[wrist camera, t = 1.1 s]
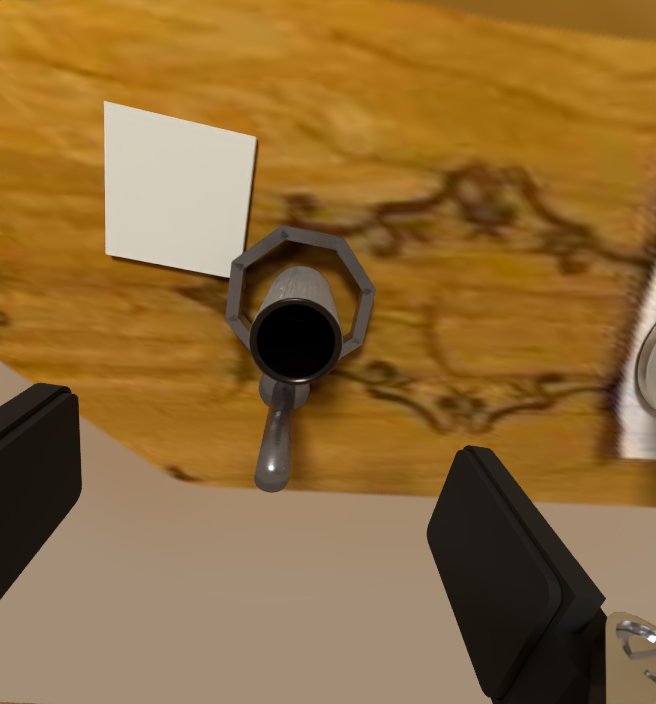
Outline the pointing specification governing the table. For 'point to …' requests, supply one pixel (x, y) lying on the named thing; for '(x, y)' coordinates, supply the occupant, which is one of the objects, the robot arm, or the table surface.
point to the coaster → (175, 190)
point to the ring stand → (275, 394)
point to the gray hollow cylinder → (297, 329)
